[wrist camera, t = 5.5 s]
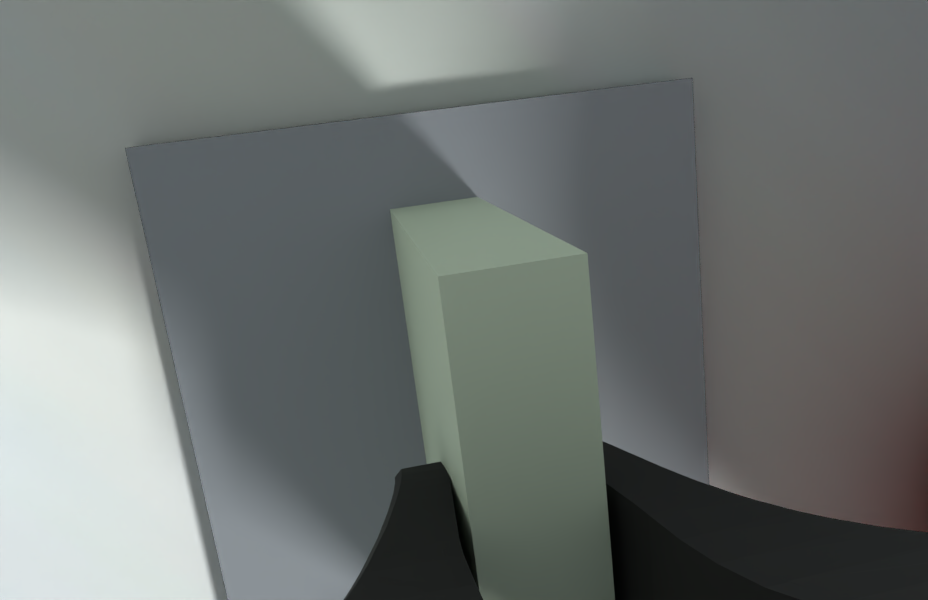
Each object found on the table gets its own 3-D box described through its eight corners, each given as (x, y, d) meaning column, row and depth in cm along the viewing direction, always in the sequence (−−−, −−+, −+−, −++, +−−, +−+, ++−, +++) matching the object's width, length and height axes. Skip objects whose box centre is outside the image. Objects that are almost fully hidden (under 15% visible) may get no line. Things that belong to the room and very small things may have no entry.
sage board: (477, 197, 14) (587, 253, 8) (526, 621, 16) (639, 903, 10) (389, 209, 14) (438, 276, 8) (451, 638, 16) (525, 936, 10)
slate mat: (679, 79, 14) (691, 78, 14) (704, 619, 17) (715, 634, 17) (132, 146, 13) (125, 148, 12) (262, 722, 16) (259, 741, 16)
